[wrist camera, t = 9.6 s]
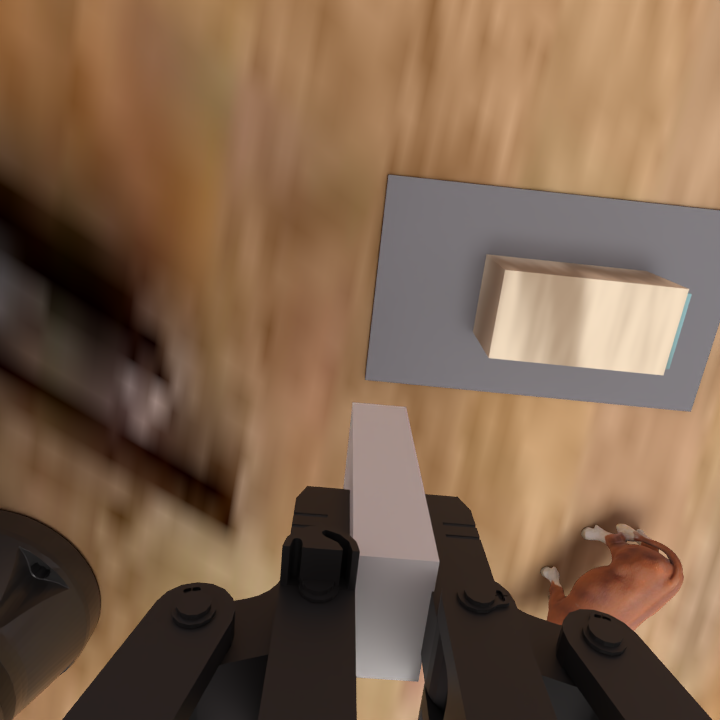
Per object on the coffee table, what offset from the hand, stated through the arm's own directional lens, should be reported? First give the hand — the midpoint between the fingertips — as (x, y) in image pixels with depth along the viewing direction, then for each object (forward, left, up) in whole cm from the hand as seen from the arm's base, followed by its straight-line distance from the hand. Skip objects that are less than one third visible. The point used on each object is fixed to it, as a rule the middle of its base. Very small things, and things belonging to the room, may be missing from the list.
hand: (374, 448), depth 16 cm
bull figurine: (+18, -20, -22) cm, 34 cm away
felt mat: (+12, 0, -22) cm, 24 cm away
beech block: (+7, 0, -19) cm, 20 cm away
